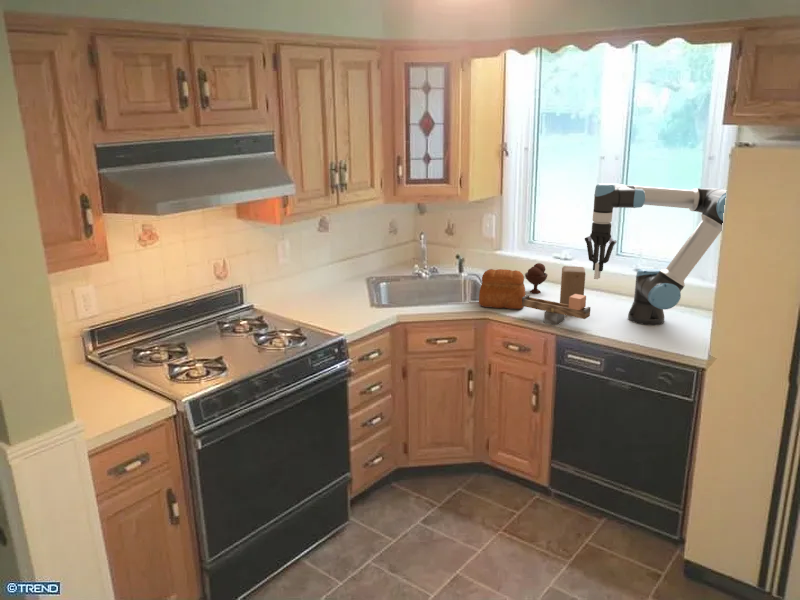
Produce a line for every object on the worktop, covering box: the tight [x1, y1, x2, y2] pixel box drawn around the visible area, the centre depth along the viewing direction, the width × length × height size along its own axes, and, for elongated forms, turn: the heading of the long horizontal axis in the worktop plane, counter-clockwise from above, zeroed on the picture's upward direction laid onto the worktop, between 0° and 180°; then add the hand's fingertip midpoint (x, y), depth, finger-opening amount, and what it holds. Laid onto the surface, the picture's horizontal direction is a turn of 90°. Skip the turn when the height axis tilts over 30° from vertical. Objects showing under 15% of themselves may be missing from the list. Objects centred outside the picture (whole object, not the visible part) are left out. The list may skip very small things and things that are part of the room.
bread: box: [478, 268, 526, 310], centre depth 323 cm, size 18×21×17 cm
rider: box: [569, 294, 587, 310], centre depth 292 cm, size 5×6×6 cm
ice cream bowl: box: [524, 262, 548, 295], centre depth 342 cm, size 11×11×15 cm
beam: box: [522, 294, 591, 326], centre depth 299 cm, size 30×8×9 cm, turn 52°
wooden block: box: [559, 265, 586, 305], centre depth 313 cm, size 10×10×20 cm
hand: (597, 278), depth 283 cm, fingers closed
